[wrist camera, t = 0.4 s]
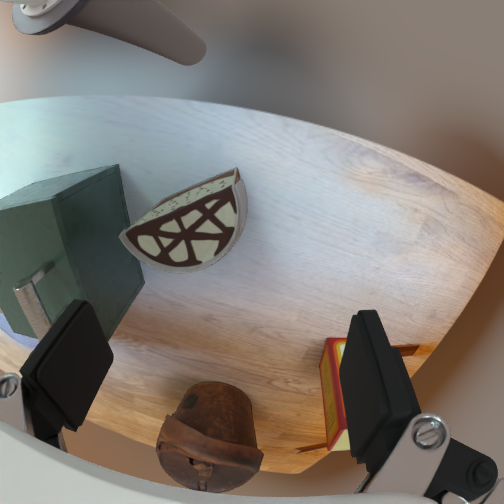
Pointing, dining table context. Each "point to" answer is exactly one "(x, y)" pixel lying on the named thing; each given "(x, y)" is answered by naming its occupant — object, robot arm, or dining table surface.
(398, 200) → the dining table surface
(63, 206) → the waste bin
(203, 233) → the food container
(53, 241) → the bin lid
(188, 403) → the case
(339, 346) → the baking soda box
